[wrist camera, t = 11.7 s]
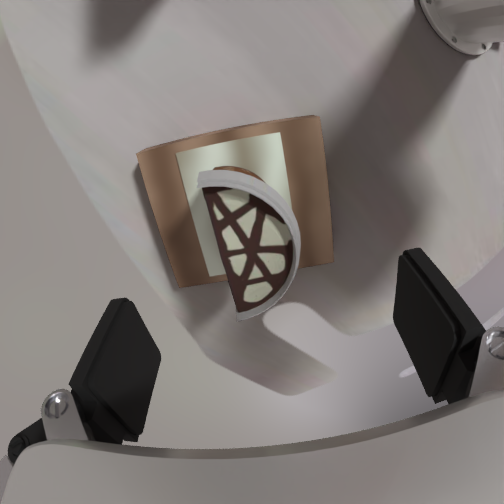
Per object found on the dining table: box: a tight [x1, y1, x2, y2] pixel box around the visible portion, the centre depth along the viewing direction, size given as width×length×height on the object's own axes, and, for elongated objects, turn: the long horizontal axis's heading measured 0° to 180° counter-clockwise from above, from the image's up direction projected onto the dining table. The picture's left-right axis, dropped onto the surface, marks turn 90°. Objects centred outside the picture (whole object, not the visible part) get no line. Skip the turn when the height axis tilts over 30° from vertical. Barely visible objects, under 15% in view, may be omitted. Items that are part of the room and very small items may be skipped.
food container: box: [197, 166, 301, 321], centre depth 25 cm, size 12×6×10 cm, turn 12°
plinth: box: [136, 115, 334, 288], centre depth 31 cm, size 18×16×3 cm
